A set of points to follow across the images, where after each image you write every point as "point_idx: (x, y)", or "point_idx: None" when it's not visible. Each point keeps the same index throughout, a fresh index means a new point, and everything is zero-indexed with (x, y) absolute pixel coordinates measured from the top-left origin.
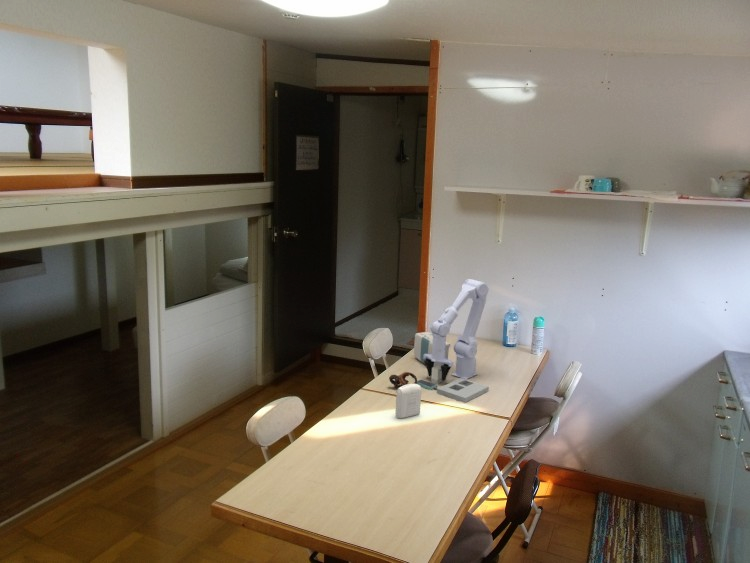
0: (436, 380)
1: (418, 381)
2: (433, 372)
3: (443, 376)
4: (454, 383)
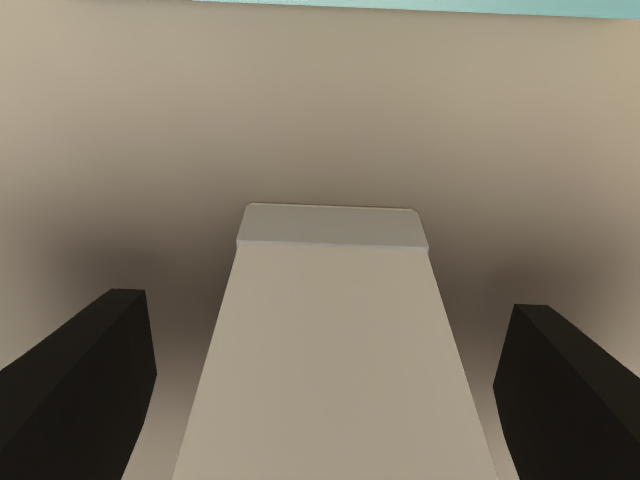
0: (264, 234)
1: None
2: (390, 366)
3: (27, 354)
4: None
